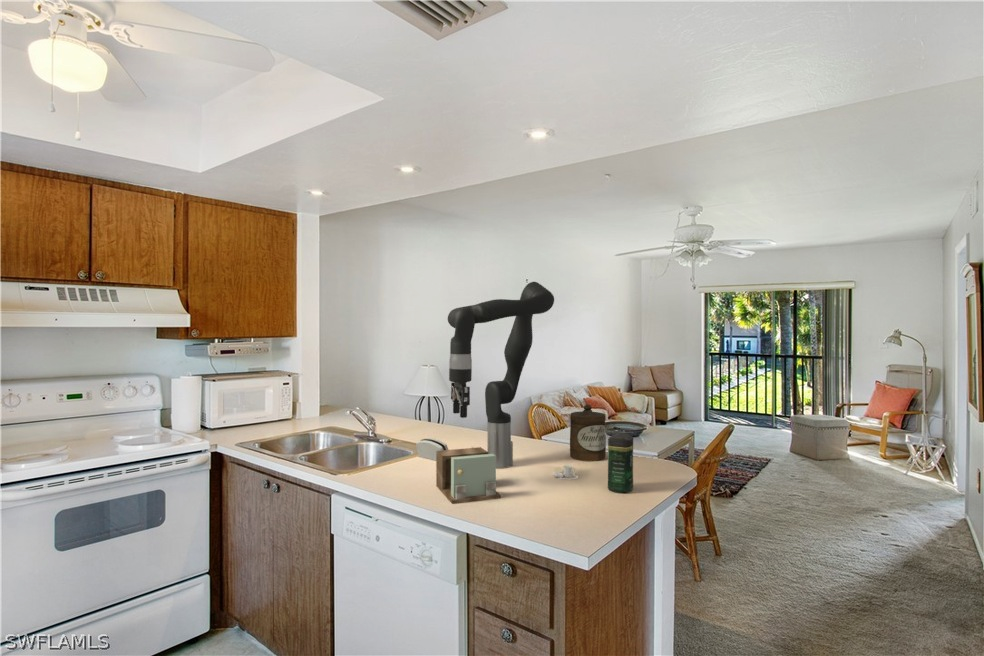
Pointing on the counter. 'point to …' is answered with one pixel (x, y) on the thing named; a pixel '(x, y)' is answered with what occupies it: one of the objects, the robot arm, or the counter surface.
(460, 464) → the door
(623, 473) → the coffee jar
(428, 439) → the grey rounded block
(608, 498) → the counter surface
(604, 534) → the counter surface
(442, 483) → the cabinet
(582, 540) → the counter surface
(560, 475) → the teacup and saucer
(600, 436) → the wooden container
